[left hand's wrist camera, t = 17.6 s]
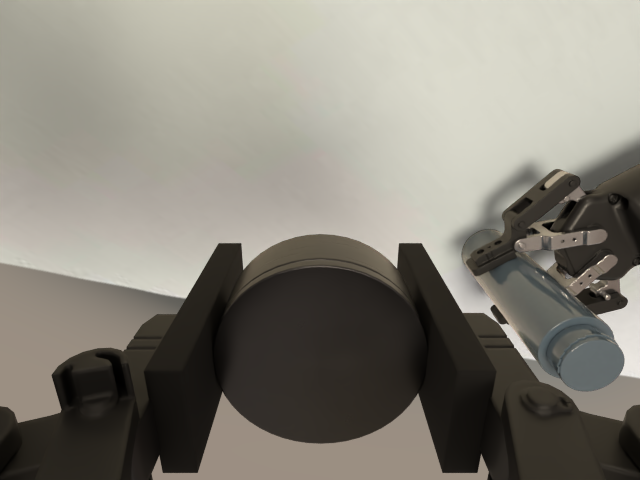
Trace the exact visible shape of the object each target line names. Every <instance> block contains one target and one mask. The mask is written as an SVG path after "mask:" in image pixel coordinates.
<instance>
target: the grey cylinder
mask: <svg viewBox="0 0 640 480" xmlns="http://www.w3.org/2000/svg"><path fill="white" fill-rule="evenodd" d="M502 235H503V233H501V232H499V231H497V230H492V229H488V230H482V231H479V232H477V233H475V234H473V235H472V236H471V237H470V238H469V239H468V240H467V241H466V243H465V245H464V247H463V250H462V259H463V262H464V264H465V265H466V267H467V268H468V266H467V264H466V261H467V260H468V259H469V258H471V257H470V254H471V253H472V252H473V251H474V250H476V249H478V248H480V247H482V246H484V245H486V244H488V243H490V242H491V241H493V240H495V239H497V238H499V237H501V236H502ZM515 254H516V256H517V257H516V258H514V259H512V260H510V261H508V262H506V263H504V264H502V265H500V266H498V267H496V268H494V269H492V270H490V271H488V272H486V273H484V274H482V275H480V276H474V275H473V273H472V272H471V271H470V269H469V268H468V270H469V271H470V272H471V274H472V275H473V276H474V278H475V279H476V280H477V282H478V283H479V284H480V286H481V287H482V288H483V290H484V291H485V292H486V294H487V295H488V296H489V298H490V299H491V300H492V302H493V303H494V304H495V306H496V307H497V308H498V310H499V311H500V312H501V314H502V315H503V316H504V318H505V319H506V320H507V322H508V323H509V324H510V326H511V327H512V328H513V330H514V331H515V332H516V334H517V335H518V336H519V338H520V339H521V340H522V342H523V343H524V344H525V346H526V347H527V348H528V350H529V351H530V352H531V354H532V355H533V356H534V358H535V359H536V360H537V362H538V363H539V364H540V366H541V367H542V368H543V369H544V370H545V371H546V372H547V373H548V374H550V375H552V376H554V377H557V378H561V379H562V381H563V382H564V383H565V384H566V385H567V386H568V387H570V388H572V389H574V390H578V391H594V390H598V389H601V388H603V387H605V386H607V385H609V384H610V383H612V382H613V381H614V380H615V379H616V378H617V377H618V376H619V374H620V373H621V371H622V369H623V366H624V355H623V352H622V350H621V349H620V348H619V346H618V344H617V343H616V342H615V340H614V335H613V332H612V330H611V329H610V327H609V326H608V325H607V324H606V323H605V322H604V321H603V320H601V319H600V318H599V317H598V316H597V315H596V314H595V313H593V312H592V311H591V310H590V309H589V308H588V307H587V306H585V305H584V304H583V303H582V302H581V301H580V300H579V299H577V298H576V297H575V296H574V295H573V294H572V293H571V292H569V291H568V290H567V289H566V288H565V287H564V286H563V285H561V284H560V283H559V282H558V281H557V280H556V279H555V278H553V277H552V276H551V275H550V274H549V273H548V272H547V271H545V270H544V269H543V268H542V267H541V266H540V265H539V264H537V263H536V262H535V261H534V260H533V259H532V258H531V257H529V256H528V255H527V254H526V253H525V252H523V253H519V252H516V253H515Z"/></svg>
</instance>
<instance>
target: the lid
mask: <svg viewBox="0 0 640 480" xmlns="http://www.w3.org/2000/svg"><path fill="white" fill-rule="evenodd" d="M427 358H428V340H427V336H426V332H425V329H424V326H423V323H422V321H421V319H420V316H419V314H418V311H417V309H416V306H415V304H414V301H413V299H412V296H411V294H410V292H409V289H408V287H407V285H406V283H405V281H404V279H403V277H402V276H401V274H400V273H399V271H398V270H397V268H396V267H395V266H394V265H393V264H392V263H391V262H390V261H389V260H388V259H387V258H386V257H384V256H383V255H382V254H381V253H379V252H378V251H376V250H375V249H373V248H372V247H370V246H368V245H366V244H363V243H361V242H359V241H356V240H353V239H350V238H347V237H341V236H336V235H324V234H317V235H306V236H300V237H295V238H292V239H289V240H285V241H282V242H280V243H278V244H276V245H274V246H272V247H270V248H268V249H267V250H265V251H264V252H262V253H261V254H259V255H258V256H257V257H256V258H255V259H253V260H252V261H251V262H250V263H249V265H248V266H247V267H246V268H245V269H244V270H243V272H242V273H241V275H240V276H239V278H238V279H237V281H236V284H235V286H234V288H233V290H232V293H231V295H230V298H229V300H228V303H227V305H226V308H225V310H224V313H223V315H222V318H221V320H220V323H219V325H218V328H217V331H216V335H215V338H214V345H213V363H214V369H215V374H216V377H217V380H218V382H219V385H220V387H221V389H222V391H223V393H224V395H225V396H226V398H227V399H228V400H229V402H230V403H231V404H232V406H233V407H234V408H235V409H236V410H237V411H238V412H239V413H240V414H241V415H242V416H244V417H245V418H246V419H247V420H248V421H250V422H251V423H253V424H254V425H256V426H258V427H259V428H261V429H263V430H265V431H267V432H269V433H271V434H274V435H276V436H279V437H282V438H285V439H289V440H293V441H298V442H305V443H336V442H343V441H348V440H352V439H356V438H360V437H362V436H365V435H368V434H370V433H373V432H374V431H377V430H379V429H381V428H382V427H384V426H386V425H387V424H389V423H390V422H392V421H393V420H394V419H396V418H397V417H398V416H399V415H400V414H402V413H403V411H404V410H405V409H406V408H407V407H408V406H409V405H410V404H411V402H412V401H413V400H414V398H415V397H416V395H417V394H418V392H419V390H420V388H421V386H422V384H423V381H424V378H425V374H426V366H427Z"/></svg>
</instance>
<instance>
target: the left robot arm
mask: <svg viewBox="0 0 640 480" xmlns="http://www.w3.org/2000/svg"><path fill="white" fill-rule="evenodd" d="M397 270H398V271H399V273H400V274H401V276H402V277H403V279H404V281H405V283H406V285H407V287H408V289H409V292H410V294H411V296H412V299H413V301H414V304H415V306H416V309H417V311H418V314H419V316H420V319H421V321H422V323H423V326H424V329H425V332H426V336H427V340H428V358H427V366H426V374H425V378H424V381H423V384H422V386H421V388H420V390H419V392H418V394H419V397H420V400H421V403H422V407H423V410H424V413H425V417H426V420H427V423H428V426H429V430H430V433H431V436H432V440H433V443H434V446H435V449H436V452H437V456H438V459H439V462H440V466H441V469H442V472H443V473H477V472H478V467H479V462H480V456H481V454H482V456H483V459H484V461H485V463H486V466H487V468H488V471H489V474H488V479H487V480H640V405H635V406H632V407H631V408H630V409H629V410H627V412H626V415H625V418H624V421H619V420H614V419H610V418H606V417H601V416H597V415H592V414H588V413H585V412H581V411H579V409H578V408H577V406H576V405H575V403H574V402H573V400H572V399H571V398H569V397H568V396H567V395H566V394H564V393H563V392H562V391H560V390H558V389H556V388H555V387H553V386H551V385H548V384H545V383H541V382H539V380H538V379H537V378H536V376H535V375H534V373H533V372H532V371H531V369H530V368H529V366H528V365H527V363H526V362H525V361H524V359H523V358H522V356H521V355H520V353H519V352H518V351H517V349H516V348H514V345H513V344H512V342H511V341H510V339H509V338H507V335H506V334H505V332H504V331H503V329H502V328H501V327H500V325H499V324H498V323H497V322H495V321H494V320H493V319H491V318H490V317H488V316H487V315H485V314H484V313H462V311H461V310H460V308H459V306H458V305H457V303H456V301H455V299H454V298H453V296H452V294H451V293H450V291H449V289H448V288H447V286H446V284H445V282H444V281H443V279H442V277H441V276H440V274H439V272H438V271H437V269H436V267H435V265H434V264H433V262H432V260H431V259H430V257H429V255H428V254H427V252H426V250H425V249H424V247H423V245H422V243H399V252H398V265H397ZM242 272H243V262H242V248H241V243H219V244H218V246H217V247H216V249H215V251H214V252H213V254H212V256H211V257H210V259H209V261H208V263H207V264H206V266H205V268H204V269H203V271H202V273H201V274H200V276H199V278H198V279H197V281H196V283H195V285H194V286H193V288H192V290H191V291H190V293H189V295H188V296H187V298H186V300H185V302H184V303H183V305H182V307H181V308H180V310H179V312H178V313H177V314H157V315H156V316H154V317H153V318H151V319H150V320H148V321H147V322H146V323H144V324H143V325H142V326H141V327H140V329H139V330H138V332H137V333H136V334H135V336H134V339H132V340H131V342H130V343H129V344H128V346H127V349H126V350H124V351H121V350H118V349H114V348H97V349H93V350H90V351H85V352H82V353H80V354H78V355H75V356H73V357H71V358H69V359H68V360H66V361H65V362H64V363H62V364H61V365H59V366H58V367H57V369H56V370H55V371H54V373H53V374H52V378H53V382H54V385H55V389H56V392H57V395H58V399H59V402H60V406H61V409H62V410H61V413H58V414H55V415H51V416H47V417H43V418H38V419H34V420H29V421H25V422H21V423H18V422H17V420H16V417H15V414H14V412H13V411H11V410H10V409H9V408H8V407H1V406H0V480H153V479H152V474H151V473H152V471H153V469H154V466H155V464H156V461H157V459H158V457H159V455H160V460H161V465H162V471H163V473H198V470H199V466H200V463H201V460H202V457H203V453H204V450H205V447H206V444H207V440H208V437H209V434H210V430H211V427H212V424H213V421H214V417H215V414H216V411H217V407H218V404H219V401H220V398H221V394H222V389H221V387H220V385H219V382H218V380H217V377H216V374H215V369H214V363H213V345H214V338H215V335H216V331H217V328H218V325H219V323H220V320H221V318H222V315H223V313H224V310H225V308H226V305H227V303H228V300H229V298H230V295H231V293H232V290H233V288H234V286H235V284H236V281H237V279H238V278H239V276H240V275H241V273H242Z"/></svg>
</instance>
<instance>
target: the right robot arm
mask: <svg viewBox="0 0 640 480" xmlns="http://www.w3.org/2000/svg"><path fill="white" fill-rule="evenodd" d="M579 185H580V178H579V177H578V176H575V175H573V174H570V173H568V172H565V171H563V170H560V169H555V170H553V171H552V172H551V173H550V174H548V175H547V176H546V177H545V178H543V179H542V180H541V181H540V182H539V183H537V184H536V185H535V186H534V187H533V188H531V189H530V190H529V191H528V192H527V193H525V194H524V195H523V196H522V197H521V198H519V199H518V200H517V201H516V202H515V203H513V204H512V205H511V206H510V207H508V208H507V209H506V210H505V211H504V212H503V214H502V219H503V220H504V221H505V231H504V233H503V235H502V236H501V237H499V238H497V239H495V240H493V241H491V242H490V243H488V244H486V245H484V246H482V247H480V248H478V249H476V250H474V251H473V252H472V253H471V254H470V257H471V258H469V259H468V260H467V261H466V264H467V266H468V268H469V269H470V271H471V272H472V273H473V275H474V276H480V275H482V274H484V273H486V272H488V271H490V270H492V269H494V268H496V267H498V266H500V265H502V264H504V263H506V262H508V261H510V260H512V259H514V258H516V257H517V256H516V254H515V253H516V252H519V253H523V252H528V251H534V250H540V249H545V250H554V253H555V260H556V263H555V264H553V265H552V266H551V267H550V268H549V269H548V270H547V272H548V273H549V274H550V275H551V276H552V277H553V278H555V279H556V280H557V281H558V282H559V283H560V284H561V285H563V286H564V287H565V288H566V289H567V290H568V291H569V292H571V293H572V294H573V295H574V296H575V297H576V298H577V299H579V300H580V301H581V302H582V303H583V304H584V305H585V306H587V307H588V308H589V309H590V310H591V311H592V312H593V313H595V314H596V315H598V314H602V313H606V312H610V311H614V310H618V309H622V308H624V307H625V306H626V305H627V303H628V300H627V298H625V297H624V296H623V295H622V294H621V293H620V282H619V279H620V278H622V277H623V276H624V275H625V274H626V273H627V272H628V271H629V270H630V269H631V268H633V267H634V266H637V265H640V164H638V165H636V166H635V167H633V168H631V169H629V170H627V171H625V172H623V173H621V174H619V175H617V176H615V177H613V178H611V179H609V180H608V181H606V182H604V183H602V184H600V185H599V186H598V187H597V188H596V189H595V190H591V191H583V190H582V189H581V187H580V186H579ZM565 202H567V203H566V205H565V206H564V208H563V209H562V211H561V212H560V214H559V216H558V217H557V218H556V219H551V220H545V221H540V222H536V221H537V220H538V219H539V218H541V217H542V216H543V215H544V214H546V213H547V212H548V211H549V210H551V209H552V208H553V207H554V206H556V205H557V204H563V203H565ZM566 273H568V274H569V275H571V276H573V277H572V278H570V279H566V278H565V275H566ZM595 279H596V280H600V281H599V282H598V283H595V284H594V283H592V282H593V281H594V280H595ZM589 284H590V285H589ZM588 285H589V287H590V288H586V287H587V286H588ZM585 288H586V289H585ZM491 311H492V313H493V315H494V317H495V318H496V319H497V321H498V322H499V323H500V324H506V323H507V324H509V323H508V322H507V320H506V319H505V318H504V316H503V315H502V314H501V312H500V311H499V310H498V308H497V307H496V306H495V305H493V306H492V307H491Z"/></svg>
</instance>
